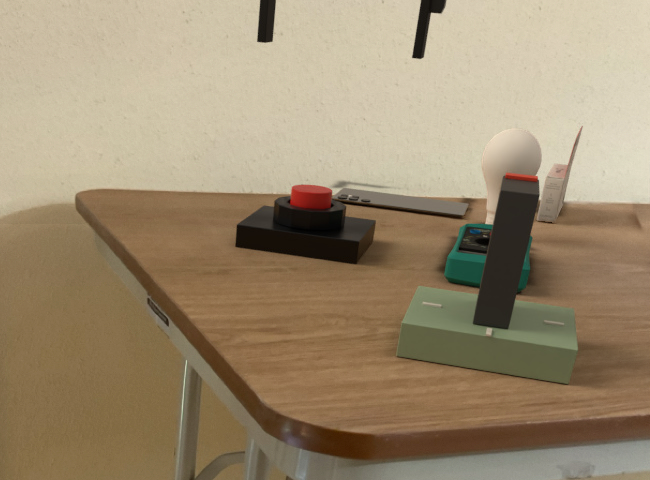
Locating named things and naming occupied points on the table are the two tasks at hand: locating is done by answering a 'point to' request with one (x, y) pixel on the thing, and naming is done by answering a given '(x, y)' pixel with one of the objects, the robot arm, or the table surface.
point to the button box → (306, 232)
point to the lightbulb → (508, 162)
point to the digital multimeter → (475, 256)
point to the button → (311, 196)
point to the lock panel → (489, 336)
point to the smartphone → (401, 202)
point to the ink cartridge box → (555, 188)
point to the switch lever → (507, 249)
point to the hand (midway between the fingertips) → (340, 50)
